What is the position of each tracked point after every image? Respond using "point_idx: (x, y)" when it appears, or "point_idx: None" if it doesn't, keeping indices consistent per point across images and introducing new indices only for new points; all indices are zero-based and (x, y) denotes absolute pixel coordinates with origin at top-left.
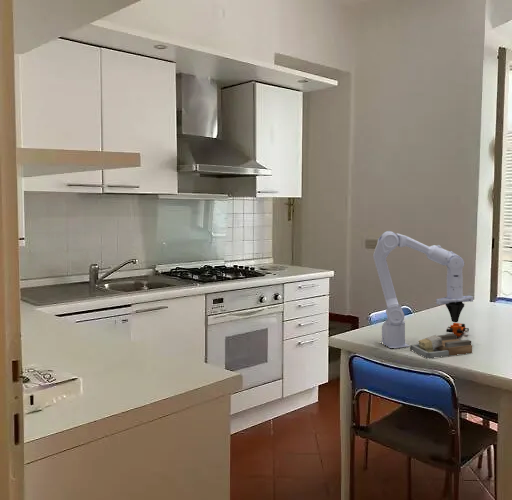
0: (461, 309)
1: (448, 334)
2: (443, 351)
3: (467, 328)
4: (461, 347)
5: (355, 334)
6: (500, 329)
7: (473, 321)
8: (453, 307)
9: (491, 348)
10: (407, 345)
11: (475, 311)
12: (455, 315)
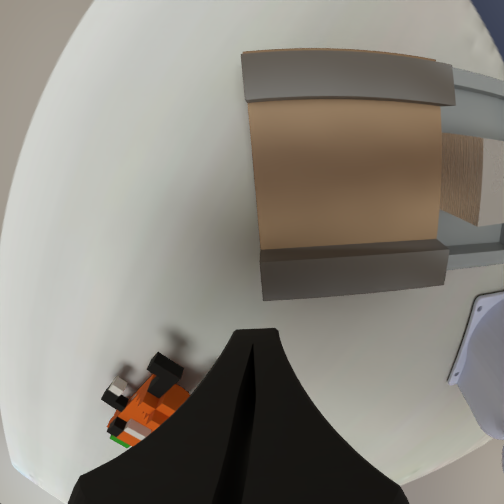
0: (155, 444)
1: (308, 296)
2: (458, 69)
3: (106, 400)
4: (338, 49)
5: (471, 442)
6: (10, 375)
7: (72, 454)
8: (389, 485)
9: (86, 143)
10: (484, 303)
11: (63, 481)
12: (282, 380)
